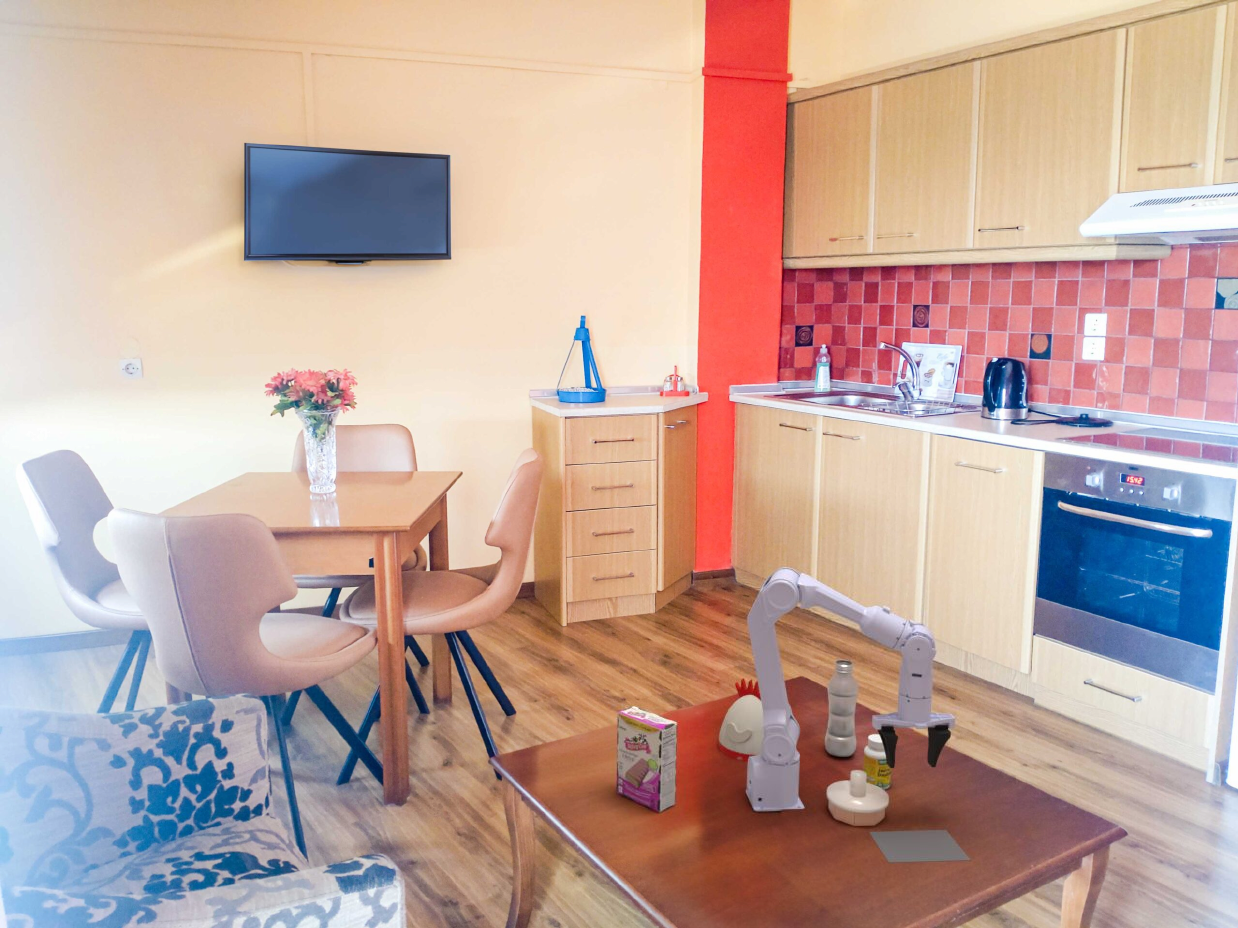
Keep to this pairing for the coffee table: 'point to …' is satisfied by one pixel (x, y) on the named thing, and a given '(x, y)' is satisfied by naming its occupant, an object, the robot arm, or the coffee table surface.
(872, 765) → the supplement bottle
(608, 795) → the coffee table surface
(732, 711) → the white and red dome
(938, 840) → the mat
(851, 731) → the plastic bottle
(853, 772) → the lid
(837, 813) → the bowl
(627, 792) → the candy bar box
